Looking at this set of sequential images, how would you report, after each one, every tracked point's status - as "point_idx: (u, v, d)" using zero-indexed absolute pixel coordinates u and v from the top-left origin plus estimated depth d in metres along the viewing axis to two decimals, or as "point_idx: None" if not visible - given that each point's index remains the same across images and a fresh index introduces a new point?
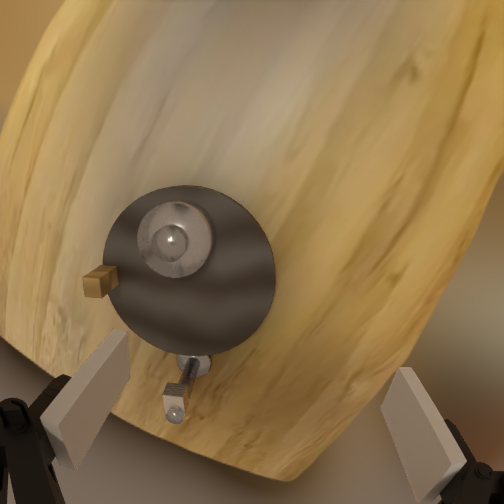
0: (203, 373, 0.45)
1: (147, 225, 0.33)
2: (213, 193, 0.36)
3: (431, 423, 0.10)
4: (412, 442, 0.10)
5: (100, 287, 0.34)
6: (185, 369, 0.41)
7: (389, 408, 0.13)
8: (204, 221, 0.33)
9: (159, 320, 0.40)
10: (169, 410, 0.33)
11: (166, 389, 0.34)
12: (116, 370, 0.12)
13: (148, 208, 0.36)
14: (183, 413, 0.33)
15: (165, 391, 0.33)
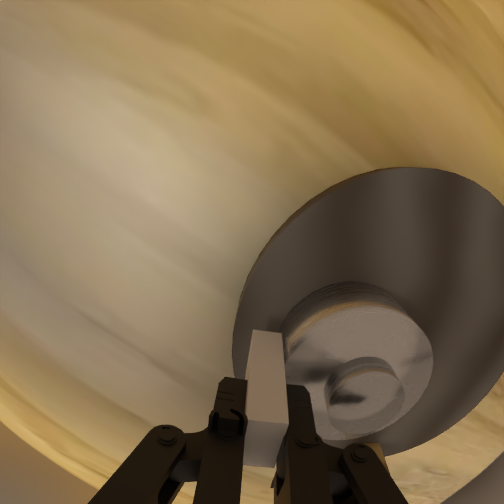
0: None
1: None
2: (257, 273, 0.17)
3: (268, 381, 0.12)
4: None
5: None
6: None
7: None
8: (334, 319, 0.13)
9: (455, 391, 0.19)
10: None
11: None
12: None
13: None
14: None
15: None
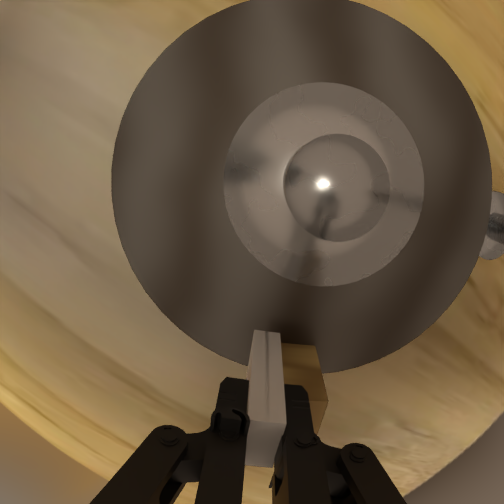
0: None
1: (281, 252, 0.12)
2: (131, 101, 0.15)
3: (266, 381, 0.12)
4: None
5: None
6: None
7: None
8: None
9: (412, 269, 0.16)
10: None
11: None
12: None
13: (150, 246, 0.17)
14: None
15: None
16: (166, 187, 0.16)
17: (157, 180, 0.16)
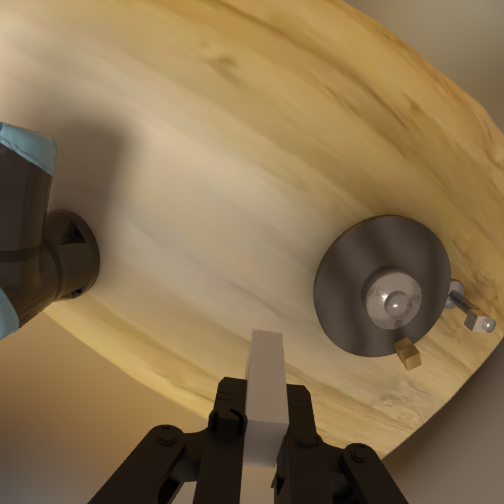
0: (462, 288, 0.46)
1: (390, 324, 0.40)
2: (316, 299, 0.44)
3: (268, 381, 0.12)
4: None
5: (411, 356, 0.41)
6: (456, 304, 0.43)
7: None
8: (374, 288, 0.40)
9: (427, 296, 0.43)
10: (484, 328, 0.35)
11: (468, 327, 0.36)
12: None
13: (344, 337, 0.46)
14: (489, 318, 0.35)
15: (470, 328, 0.36)
16: (342, 318, 0.45)
17: (338, 318, 0.45)
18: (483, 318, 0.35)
